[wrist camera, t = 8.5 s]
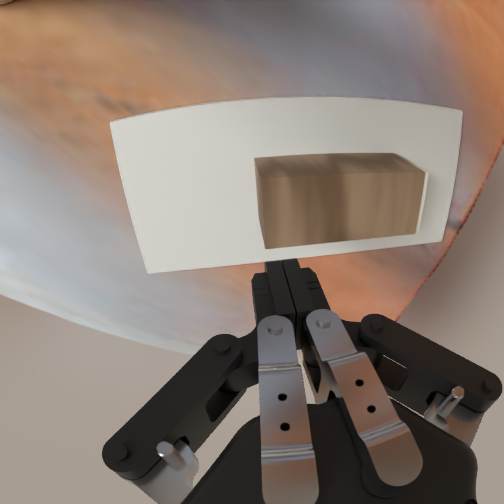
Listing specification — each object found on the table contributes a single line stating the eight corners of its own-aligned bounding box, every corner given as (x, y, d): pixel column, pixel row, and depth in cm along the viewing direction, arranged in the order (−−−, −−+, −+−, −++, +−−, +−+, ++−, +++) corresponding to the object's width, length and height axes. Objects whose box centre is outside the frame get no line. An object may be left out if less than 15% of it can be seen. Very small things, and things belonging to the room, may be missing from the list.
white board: (150, 264, 28) (147, 273, 27) (116, 119, 21) (109, 122, 19) (434, 234, 29) (441, 241, 28) (453, 107, 21) (462, 110, 20)
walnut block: (265, 249, 21) (418, 233, 21) (260, 179, 18) (428, 172, 18) (258, 216, 25) (390, 206, 25) (254, 158, 22) (396, 152, 22)
